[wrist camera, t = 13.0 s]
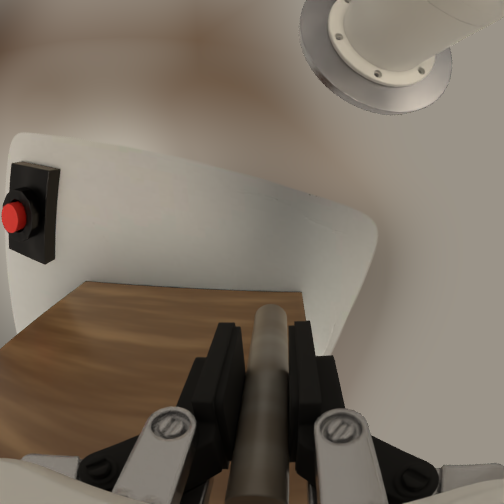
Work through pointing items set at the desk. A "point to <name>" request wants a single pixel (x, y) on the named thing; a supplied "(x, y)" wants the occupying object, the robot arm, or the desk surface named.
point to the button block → (34, 209)
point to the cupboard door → (151, 377)
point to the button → (14, 217)
